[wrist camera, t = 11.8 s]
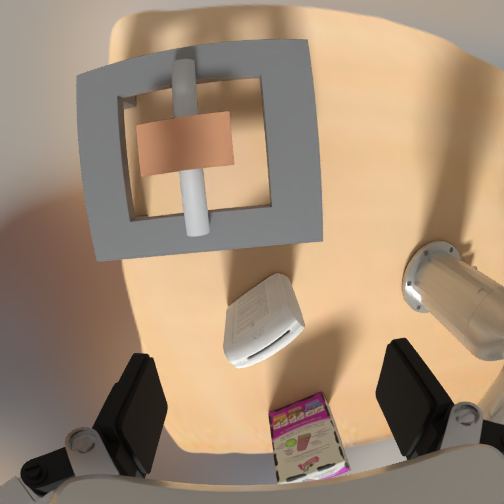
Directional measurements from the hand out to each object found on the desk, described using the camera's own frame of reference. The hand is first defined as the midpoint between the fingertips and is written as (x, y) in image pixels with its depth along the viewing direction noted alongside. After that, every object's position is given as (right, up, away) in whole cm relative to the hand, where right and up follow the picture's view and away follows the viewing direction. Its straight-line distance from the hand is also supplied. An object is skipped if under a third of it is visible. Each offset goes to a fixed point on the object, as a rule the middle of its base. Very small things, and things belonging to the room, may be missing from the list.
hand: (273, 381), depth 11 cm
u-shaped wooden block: (-6, +16, +20) cm, 26 cm away
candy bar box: (+8, -25, +40) cm, 47 cm away
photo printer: (0, -2, +32) cm, 32 cm away
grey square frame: (-6, +18, +25) cm, 31 cm away
